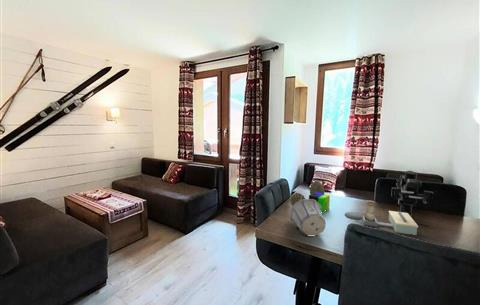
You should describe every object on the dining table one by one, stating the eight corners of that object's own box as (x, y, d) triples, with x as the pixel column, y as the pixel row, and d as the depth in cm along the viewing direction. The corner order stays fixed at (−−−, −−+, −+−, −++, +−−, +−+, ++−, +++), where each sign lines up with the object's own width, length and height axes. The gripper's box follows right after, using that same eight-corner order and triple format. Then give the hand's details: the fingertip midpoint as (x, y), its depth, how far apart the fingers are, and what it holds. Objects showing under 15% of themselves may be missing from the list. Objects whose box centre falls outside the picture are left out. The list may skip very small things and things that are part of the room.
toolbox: (361, 215, 142) (361, 205, 141) (407, 221, 132) (407, 211, 132) (364, 227, 125) (365, 217, 124) (417, 235, 115) (418, 224, 115)
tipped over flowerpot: (333, 212, 111) (310, 183, 139) (298, 215, 109) (282, 185, 137) (329, 239, 117) (308, 206, 145) (296, 243, 116) (281, 208, 144)
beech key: (364, 221, 133) (365, 200, 132) (373, 222, 132) (374, 201, 130) (365, 224, 129) (366, 202, 128) (374, 225, 127) (376, 203, 126)
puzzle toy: (315, 205, 160) (315, 192, 159) (329, 209, 153) (329, 195, 151) (308, 209, 153) (309, 195, 152) (322, 213, 146) (323, 198, 145)
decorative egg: (307, 197, 178) (308, 179, 176) (321, 197, 177) (322, 179, 175) (311, 202, 167) (312, 182, 165) (326, 202, 167) (326, 182, 165)
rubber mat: (344, 212, 147) (344, 211, 147) (361, 214, 143) (361, 213, 143) (344, 217, 138) (345, 217, 138) (363, 220, 134) (363, 219, 134)
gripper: (392, 175, 135) (393, 184, 122) (431, 179, 126) (438, 189, 113) (390, 192, 138) (391, 203, 125) (429, 197, 128) (435, 209, 115)
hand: (413, 200), depth 120 cm, fingers open, 9 cm apart
